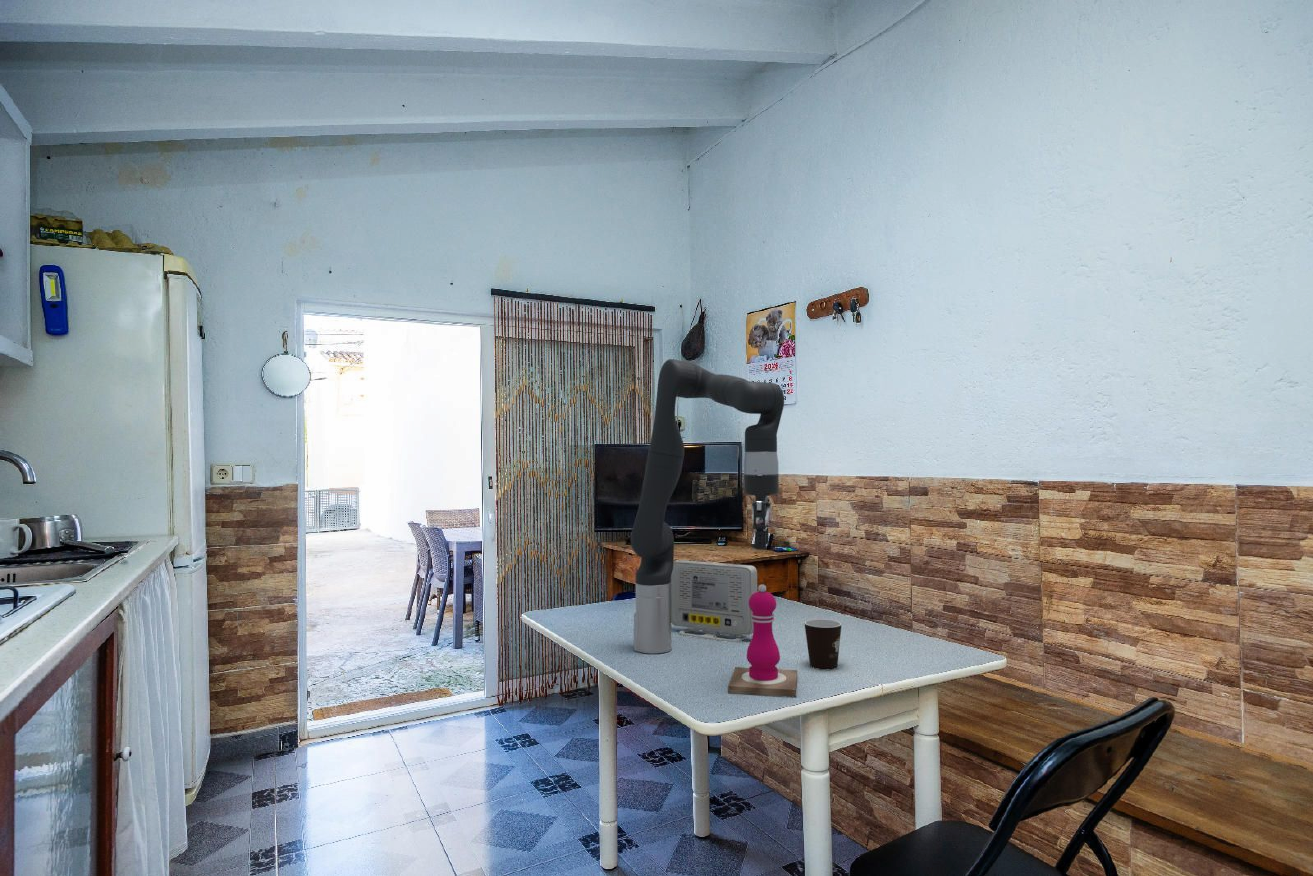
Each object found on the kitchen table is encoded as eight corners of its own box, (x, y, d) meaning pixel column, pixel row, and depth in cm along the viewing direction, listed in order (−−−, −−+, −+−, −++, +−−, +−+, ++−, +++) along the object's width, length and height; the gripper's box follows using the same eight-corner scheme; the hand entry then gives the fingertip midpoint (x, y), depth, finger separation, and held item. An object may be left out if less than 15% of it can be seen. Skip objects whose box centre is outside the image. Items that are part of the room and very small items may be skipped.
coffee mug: (821, 673, 164) (820, 629, 164) (797, 663, 172) (796, 621, 172) (859, 665, 169) (859, 623, 170) (835, 657, 177) (834, 616, 177)
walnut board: (728, 693, 151) (728, 685, 151) (735, 673, 164) (735, 666, 164) (795, 697, 148) (795, 689, 148) (797, 677, 161) (797, 669, 161)
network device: (761, 638, 197) (760, 565, 197) (747, 645, 189) (746, 569, 190) (681, 627, 210) (680, 558, 211) (665, 633, 203) (664, 562, 204)
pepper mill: (772, 683, 151) (771, 588, 152) (741, 678, 155) (740, 585, 156) (785, 674, 158) (783, 583, 158) (755, 670, 161) (753, 580, 162)
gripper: (747, 472, 165) (747, 542, 165) (740, 473, 151) (741, 550, 151) (780, 472, 163) (781, 543, 163) (776, 473, 150) (777, 551, 149)
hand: (762, 546), depth 157 cm, fingers open, 8 cm apart
